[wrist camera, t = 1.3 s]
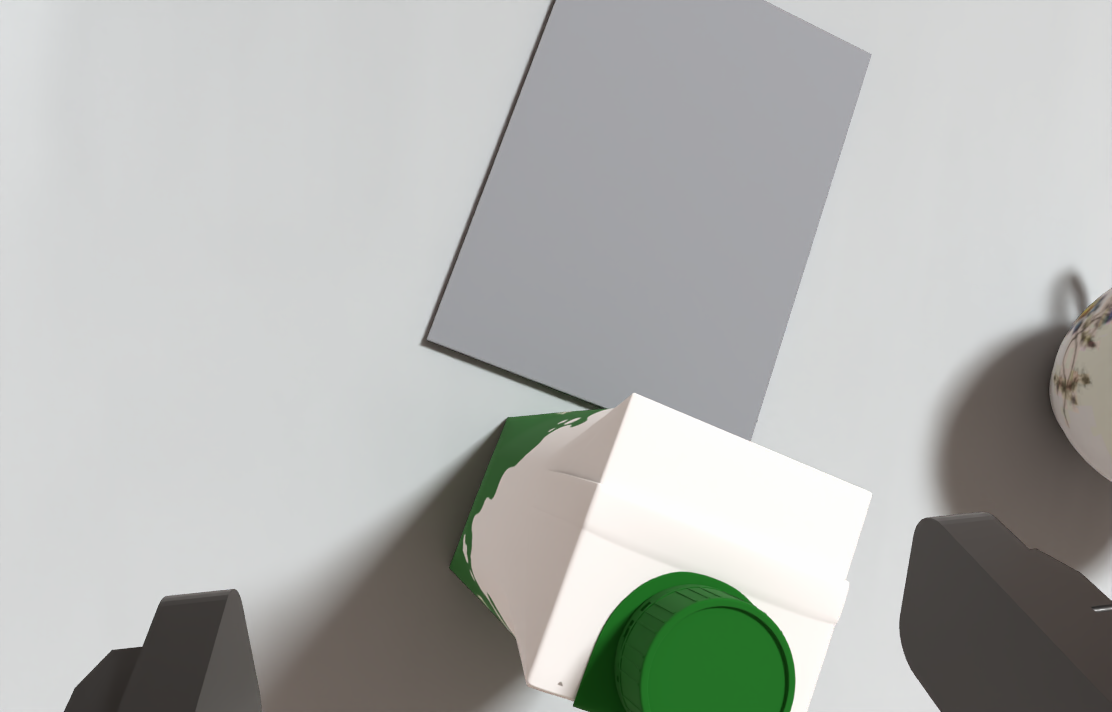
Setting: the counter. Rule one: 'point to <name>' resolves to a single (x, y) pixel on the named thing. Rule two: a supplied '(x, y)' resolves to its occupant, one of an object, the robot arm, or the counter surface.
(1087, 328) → the teacup
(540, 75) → the slate mat
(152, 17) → the counter surface
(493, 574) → the milk carton
